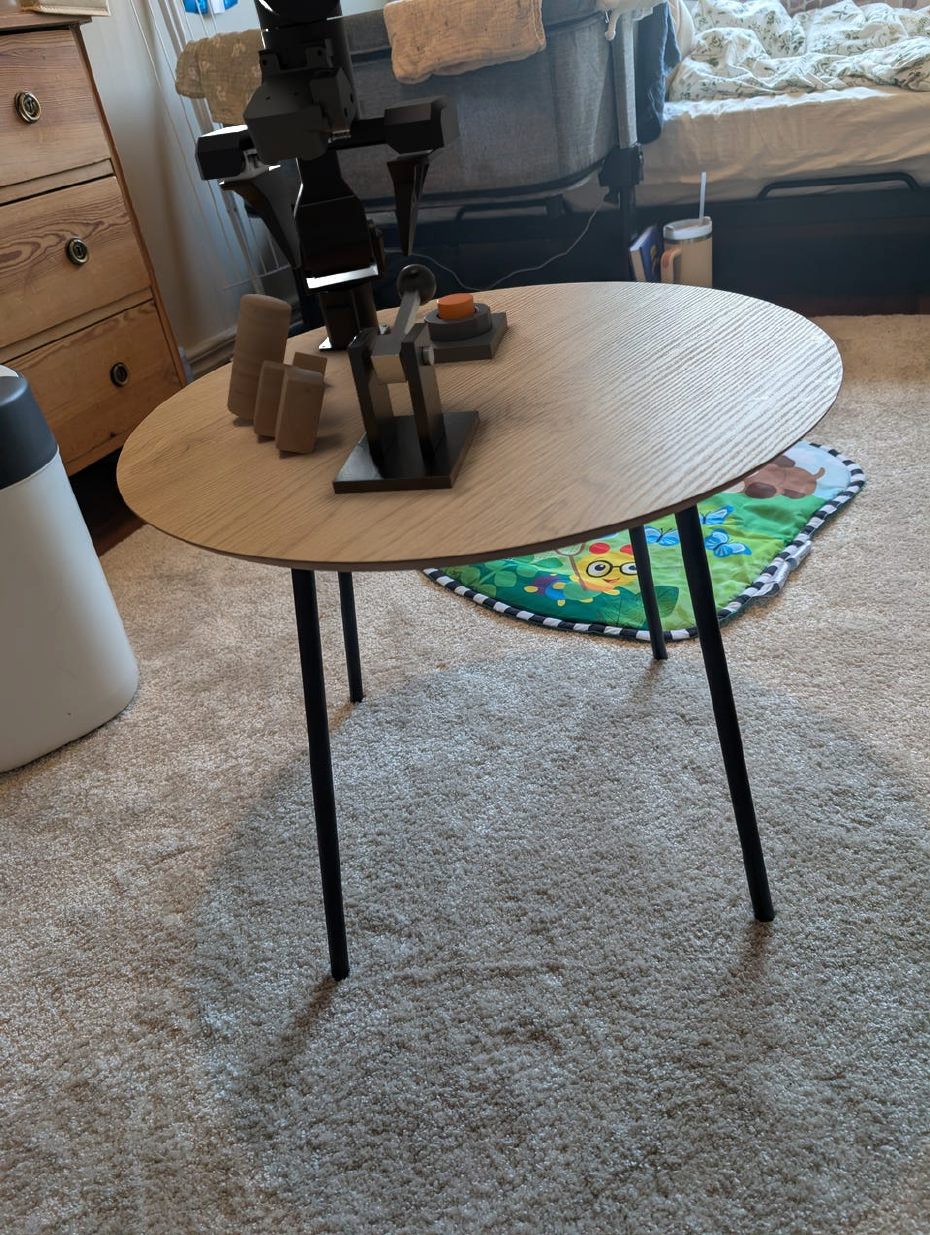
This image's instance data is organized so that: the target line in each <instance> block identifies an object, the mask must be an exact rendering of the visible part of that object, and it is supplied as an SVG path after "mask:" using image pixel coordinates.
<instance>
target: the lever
mask: <svg viewBox="0 0 930 1235" xmlns="http://www.w3.org/2000/svg"><path fill="white" fill-rule="evenodd" d="M396 291H397V294H398V296H399V298H400V299H401V302H400V306H399V308H398V311H397V314H396V317H395V321H394V322H393V326H392V329H391V332H390V333H389V334H388V333H387V334H386V335H378V337H377V340H376V343H375V346H374V349H373V351H372V354H371V357H370V358H371V361H372V364H373V367H374V370H375V374H376V377H377V380H378V383H379V384H388V385H393V384H402V383H403V384H405V383H408V380H407V375H406V370H405V364H404V359H403V354H402V349H401V342H402V341H403V339H404V338H405V336H406V335H407V334H408V332H409V331H410V330H411V328H412V327H413V325H414V324H415V320H416V317H417V314H418V311H419V308H420V307H422V306H425V305H427V304H428V303H430V302H431V301H432V300H433V298H434V296H435V294H436V291H437V280H436V277H435V275H434V273H433V272H432V270H430V269H429V268H428V267H427V266H425V265H423V264H419V263H414V264H409V265H407V266H406V267H404V268H403V269H402V270H401V271H400V272H399V274H398V276H397V279H396Z"/></svg>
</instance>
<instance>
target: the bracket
mask: <svg viewBox="0 0 930 1235" xmlns="http://www.w3.org/2000/svg"><path fill="white" fill-rule="evenodd" d="M377 337H378V335H377V330H376V327H369V328H363V330H362V331H361V332H360V333H359V334H358V335H357V337H356V338H355V339H354V340H353V341H352V342H351V343H350V345H349V346H348V347H347V350H346V351H347V355H348V359H349V364H350V368H351V373H352V378H353V381H354V386H355V391H356V395H357V400H358V405H359V408H360V413H361V417H362V422H363V428H364V434H363V435H362V436H361V438H360V440H359V441H358V442H357V443H356V445H355V447H354V448H353V450H352V451H351V453H350V455H349V456H348V457H347V459H346V461H345V462H344V463H343V465H342V467H341V468H340V470H339V471H338V473H337V474H336V476H335V477H334V479H333V480H332V482H331V484H332V487H333V491H334V494H335V495H341V494H343V495H344V494H364V493H365V494H366V493H385V492H386V493H387V492H405V491H406V492H407V491H408V492H409V491H426V490H427V491H431V490H449V489H452V488H454V487H453V486H454V485H455V482H456V480H457V477H458V475H459V472H460V471H461V469H462V465H463V463H464V461H465V458H466V456H467V454H468V452H469V449H470V447H471V444H472V442H473V440H474V437H475V435H476V433H477V430H478V428H479V425H480V423H481V417H480V411H479V410H478V409H477V410H465V411H451V412H443V406H442V402H441V401H442V400H441V396H440V390H439V389H440V388H439V384H438V376H437V372H436V371H437V370H436V366H435V365H436V364H434V352H433V348H432V346H431V341H430V336H429V330H428V324H427V322H424V321H423V322H416V323H415V322H414V324H413V327H412V328H411V330H410V331H409V332H408V334H407V335H406V336H405V338H404V339H403V341H402V342H401V349H402V354H403V359H404V364H405V370H406V375H407V385H408V389H409V396H410V400H411V401H410V402H411V406H412V412H413V414H404V415H403V414H402V415H394V408H393V404H392V400H391V395H390V390H389V384H379V383H378V380H377V377H376V374H375V370H374V367H373V364H372V361H371V358H370V357H371V354H372V351H373V349H374V346H375V343H376V340H377Z"/></svg>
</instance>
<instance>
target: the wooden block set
mask: <svg viewBox="0 0 930 1235" xmlns="http://www.w3.org/2000/svg"><path fill="white" fill-rule="evenodd" d="M239 302H240V304H239V310H238V319H237V327H236V335H235V340H234V341H235V342H234V350H233V355H232V356H233V357H232V365H231V373H230V378H229V379H230V381H229V388H228V396H227V403H226V407H227V410H228V412H230V413H231V414H233V415H234V416H237V417H239V418H243V419H245V420H251V421H253V433H254V434H255V435H260V436H265V437H270V438H271V437H272V438H274V443H275V445H274V446H275V448H276V449H277V450H279V451H286V452H294V453H299V454H305V455H306V454H307V455H308V454H311V453H313V452H314V450H315V443H316V439H317V432H318V429H319V422H320V417H321V413H322V406H323V400H324V396H325V390H326V384H325V376H326V370H327V364H328V357H325V356H320V355H315V354H309V353H304V352H299V351H295V352H294V355H293V357H292V362H291V364H288V363H284V362H285V356H286V351H287V344H288V339H289V331H290V324H291V319H292V312H293V307H292V306H291V304H289V303H288V302H286V301H285V300H282V299H280V298H277V297H274V296H270V295H265V294H257V293H247V294H243V295H242V296H241V298H240V301H239Z"/></svg>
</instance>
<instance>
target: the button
mask: <svg viewBox="0 0 930 1235" xmlns="http://www.w3.org/2000/svg"><path fill="white" fill-rule="evenodd" d="M474 303H475V302H474V295H473V294H471V293H466V292H465V293H462V292H461V293H453V294H449V295H445V296H443V297H441V298H438V299H437V301H436V305H437V309H438V312H439V318H440V319H444V320H452V319H460V318H464V317H468V316H470V315H472V314H474V313H475V308H474Z"/></svg>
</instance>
